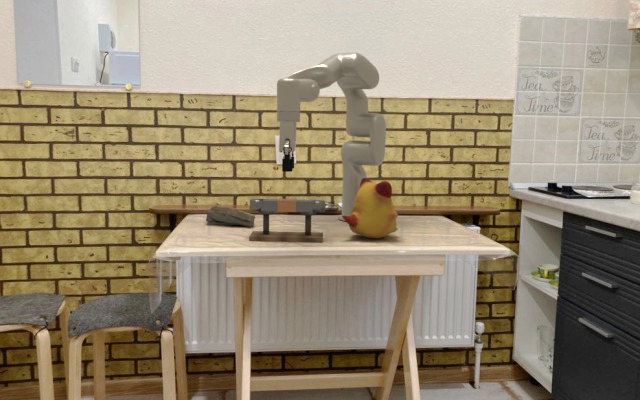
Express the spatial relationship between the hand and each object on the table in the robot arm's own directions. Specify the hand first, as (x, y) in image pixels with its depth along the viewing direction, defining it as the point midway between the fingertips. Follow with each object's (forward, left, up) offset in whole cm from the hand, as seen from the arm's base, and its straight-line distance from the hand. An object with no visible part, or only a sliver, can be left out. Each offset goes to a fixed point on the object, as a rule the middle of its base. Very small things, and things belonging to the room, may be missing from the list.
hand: (288, 169), depth 189 cm
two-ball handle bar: (0, 0, -14) cm, 14 cm away
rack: (0, 0, -23) cm, 23 cm away
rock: (+23, -23, -24) cm, 40 cm away
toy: (-27, -4, -23) cm, 36 cm away
